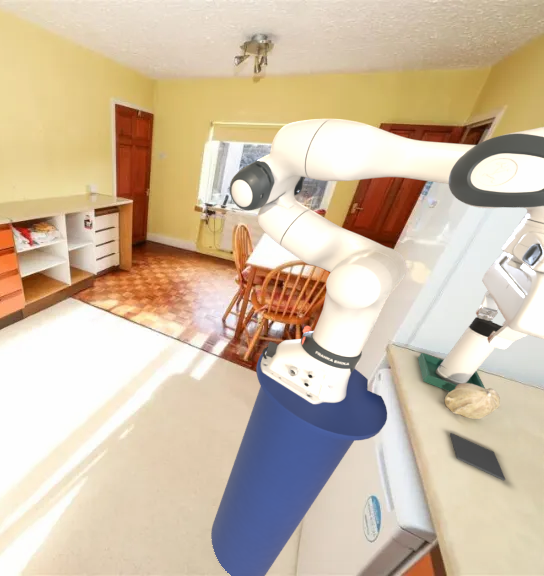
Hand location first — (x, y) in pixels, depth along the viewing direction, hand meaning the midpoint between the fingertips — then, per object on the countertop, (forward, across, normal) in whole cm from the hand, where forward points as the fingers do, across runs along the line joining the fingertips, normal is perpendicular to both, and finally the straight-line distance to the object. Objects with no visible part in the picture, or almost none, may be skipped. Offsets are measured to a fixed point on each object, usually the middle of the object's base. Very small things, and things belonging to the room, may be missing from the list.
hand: (488, 330), depth 42 cm
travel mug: (+33, -39, +13) cm, 53 cm away
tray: (+33, -39, +13) cm, 53 cm away
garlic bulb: (+33, -25, +14) cm, 44 cm away
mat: (+32, -11, +15) cm, 37 cm away
